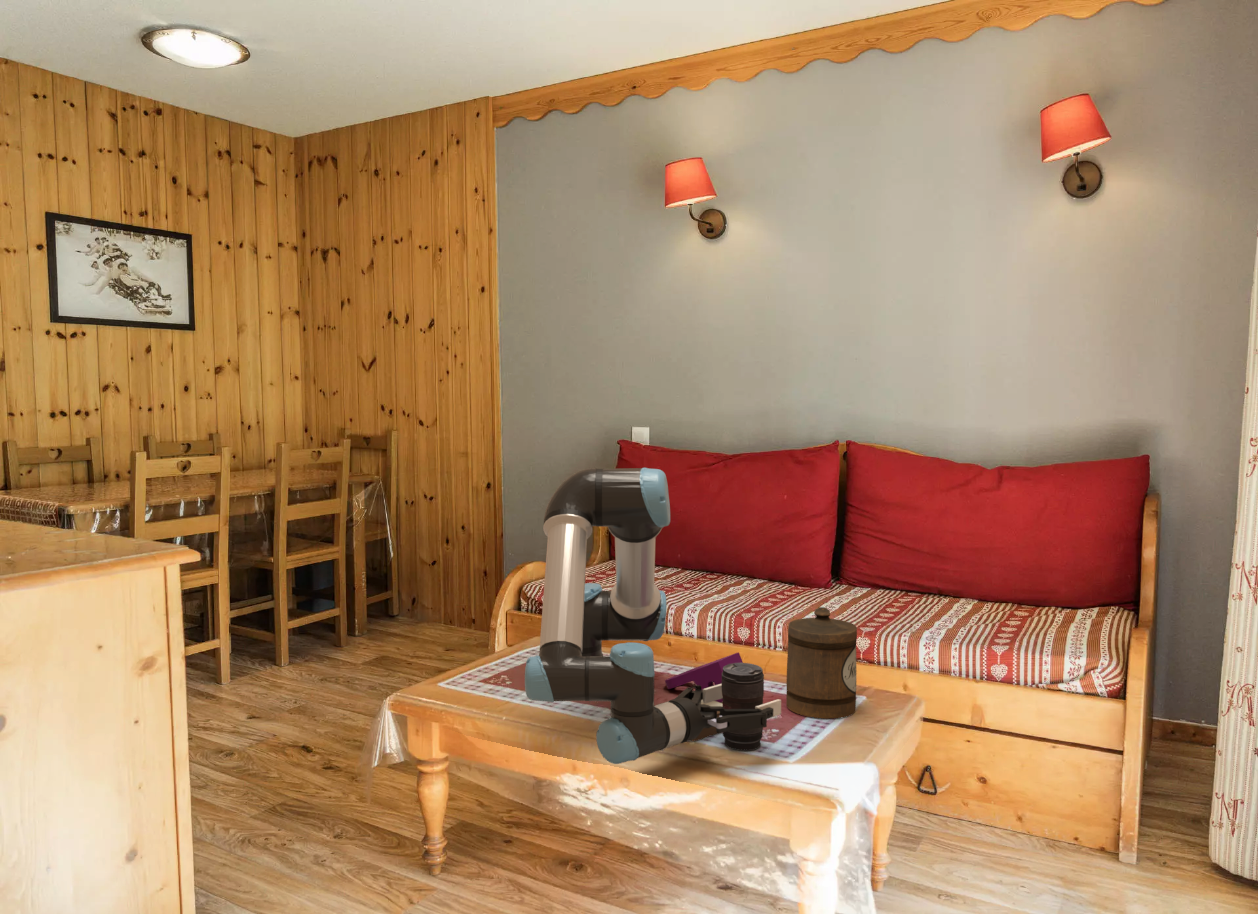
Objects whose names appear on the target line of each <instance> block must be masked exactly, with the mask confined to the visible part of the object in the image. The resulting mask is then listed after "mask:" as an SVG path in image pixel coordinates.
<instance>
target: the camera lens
mask: <svg viewBox="0 0 1258 914" xmlns="http://www.w3.org/2000/svg"><path fill="white" fill-rule="evenodd" d="M763 672H764V670H763V668H762V667H761V666H760V665H757V664H754V663H750V662H743V663H733V664H728V665H726V666H724V667H723V672H722V696H723V702H722V703H723V708H724V709H755V707H756V706H759V705H762V704H764V693H765V685H764V684H765V681H764V679H765V677H764V676H765V674H764V673H763ZM763 732H764V728H753V729H742V730H732V731H726V732H722V736H723V737H724V743H725V746H726V747H728V748H730V749H732V750H735V751H736V750H737V751H754V750H757V749H758V748H760V745H761V739H762V738H763Z"/></svg>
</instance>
